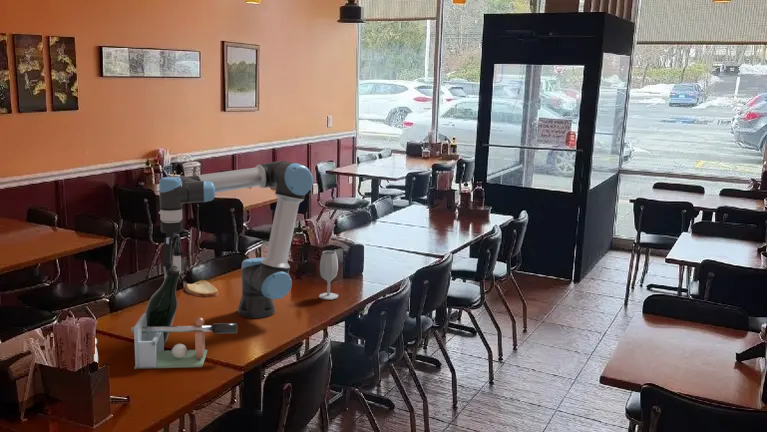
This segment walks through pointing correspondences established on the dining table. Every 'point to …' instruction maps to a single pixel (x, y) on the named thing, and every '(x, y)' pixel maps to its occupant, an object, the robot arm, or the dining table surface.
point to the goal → (146, 344)
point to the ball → (179, 351)
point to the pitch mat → (178, 360)
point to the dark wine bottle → (164, 302)
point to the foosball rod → (198, 330)
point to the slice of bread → (202, 289)
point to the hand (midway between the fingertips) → (173, 278)
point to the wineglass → (328, 272)
